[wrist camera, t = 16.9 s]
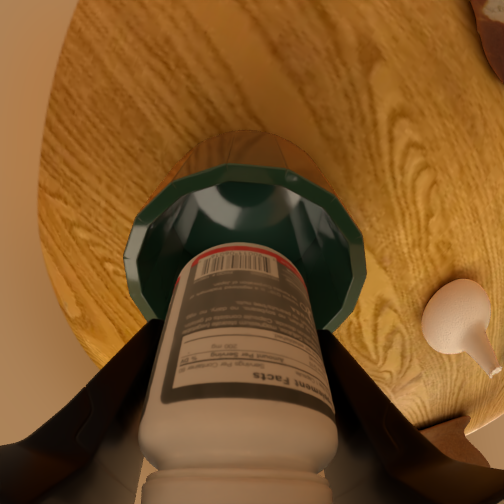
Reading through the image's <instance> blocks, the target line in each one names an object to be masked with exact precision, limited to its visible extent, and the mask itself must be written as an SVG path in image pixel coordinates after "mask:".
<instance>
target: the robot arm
mask: <svg viewBox="0 0 504 504" xmlns="http://www.w3.org/2000/svg"><path fill="white" fill-rule="evenodd" d="M164 323H165V321H164V320H163V319H155V318H152V319H150V320H149V321H148V322H147V323H146V324H145V325H144V326H143V327H142V328H141V329H140V330H139V331H138V332H137V333H136V334H135V335H134V336H133V337H132V338H131V339H130V341H129V342H128V343H127V344H126V345H125V346H124V347H123V348H122V349H121V350H120V351H119V352H118V353H117V354H116V355H115V356H114V357H113V358H112V359H111V360H110V361H109V362H108V363H107V364H106V365H105V366H104V367H103V368H102V369H101V370H100V371H99V372H98V373H97V374H96V375H95V376H94V378H92V380H90V381H89V383H88V384H87V385H86V387H84V388H83V389H82V390H81V391H80V392H79V393H78V394H77V395H76V396H75V397H74V398H73V399H72V400H71V401H70V402H69V403H68V404H67V405H66V406H64V407H63V408H62V409H61V410H60V411H59V412H58V413H56V414H55V415H54V416H53V417H52V418H50V419H49V420H48V421H47V422H46V423H44V424H43V425H42V426H41V427H40V428H38V429H37V430H36V431H35V432H33V433H32V434H31V435H30V436H28V437H27V438H25V439H24V440H21V441H19V442H16V443H13V444H7V445H2V446H0V504H134V502H135V497H136V492H137V487H138V481H139V477H140V472H141V468H142V463H143V458H144V455H143V453H142V451H141V449H140V446H139V441H138V432H139V424H140V417H141V414H142V410H143V405H144V401H145V397H146V393H147V389H148V384H149V380H150V376H151V372H152V368H153V364H154V361H155V357H156V353H157V349H158V345H159V341H160V338H161V334H162V330H163V327H164ZM316 332H317V336H318V340H319V345H320V349H321V354H322V358H323V363H324V367H325V371H326V374H327V378H328V383H329V387H330V392H331V396H332V402H333V405H334V409H335V420H336V426H337V433H338V448H337V452H336V454H335V456H334V458H333V460H332V461H331V462H330V464H329V465H328V466H327V467H326V468H325V469H324V473H325V478H326V479H327V480H328V481H329V488H330V489H331V490H332V492H333V499H332V500H333V504H504V470H501V469H494V468H489V467H484V466H479V465H475V464H470V463H466V462H461V461H457V460H454V459H452V458H450V457H448V456H447V455H445V454H444V453H442V452H441V451H440V450H439V449H438V448H437V447H436V446H435V445H433V444H432V443H431V442H430V441H429V440H428V439H427V438H426V437H425V436H424V435H423V434H422V433H420V432H419V431H418V430H417V429H416V428H415V427H414V426H413V425H412V424H411V423H410V422H409V421H408V420H407V419H406V418H405V417H404V415H403V414H402V413H401V412H400V411H399V410H398V409H397V408H396V406H395V405H394V404H393V403H390V402H391V401H390V400H389V398H388V397H387V396H386V395H385V394H384V393H383V392H382V390H381V389H380V388H379V387H378V386H377V385H376V383H375V382H374V381H373V380H372V379H371V378H370V376H369V375H368V374H367V373H366V372H365V371H364V370H363V368H362V367H361V366H360V365H359V364H358V363H357V361H356V360H355V359H354V358H353V357H352V356H351V355H350V353H349V352H348V351H347V350H346V349H345V348H344V346H343V345H342V344H341V343H340V342H339V341H338V340H337V338H336V337H335V336H334V335H333V334H332V333H331V332H330V331H329V330H327V329H317V330H316Z"/></svg>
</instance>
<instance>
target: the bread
mask: <svg viewBox="0 0 504 504" xmlns="http://www.w3.org/2000/svg"><path fill="white" fill-rule="evenodd" d="M470 2H471V5H472V7H473V10H474V13H475V17H476V23H477V32H478V33H479V34H480V38H481V40H482V46H483V49H484V51H485V55H486V58H487V60H488V62H489V64H490V66H491V67H492V69H493V70H494V72H495V74H496V75H497V76H498V78H499V79H500V80H501V81H502V82H503V83H504V0H470Z"/></svg>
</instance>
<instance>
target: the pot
mask: <svg viewBox="0 0 504 504" xmlns="http://www.w3.org/2000/svg"><path fill="white" fill-rule="evenodd" d="M235 242H245V243H254V244H259V245H262V246H266V247H269V248H271V249H273V250H275V251H277V252H279V253H280V254H282V255H283V256H285V257H286V258H287V259H288V260H290V261H291V262H292V264H293V265H294V266H295V267H296V268H297V270H298V271H299V273H300V274H301V276H302V278H303V280H304V283H305V286H306V288H307V292H308V296H309V301H310V305H311V310H312V314H313V318H314V322H315V327H316V330H317V329H327V330H329V331H330V332H331V333H333V332H334V331H335V330H336V329H337V328H338V327H339V326H340V325H341V324H342V323H343V322H344V321H345V320H346V318H347V317H348V316H349V315H350V314H351V313H352V312H353V310H354V308H355V306H356V303H357V300H358V298H359V295H360V293H361V290H362V287H363V285H364V282H365V279H366V275H367V270H366V259H365V250H364V241H363V235H362V232H361V231H360V229H359V228H358V226H357V224H356V223H355V221H354V220H353V218H352V217H351V215H350V213H349V212H348V210H347V209H346V207H345V206H344V204H343V203H342V201H341V200H340V198H339V197H338V195H337V194H336V192H335V191H334V189H333V188H332V186H331V185H330V183H329V182H328V181H327V179H326V178H325V176H324V175H323V174H322V172H321V171H320V170H319V168H318V167H317V165H316V164H315V163H314V161H313V160H312V159H311V158H310V156H309V155H308V154H307V153H306V152H305V151H304V150H302V149H300V148H299V147H298V146H296V145H295V144H293V143H292V142H290V141H288V140H286V139H284V138H282V137H280V136H277V135H274V134H270V133H267V132H261V131H255V130H239V131H231V132H226V133H222V134H219V135H216V136H214V137H211V138H209V139H207V140H205V141H202V142H201V143H199V144H197V145H196V146H195V147H194V148H193V149H192V150H190V151H189V152H188V153H187V154H186V155H185V156H184V157H183V158H182V159H181V160H180V161H179V162H178V163H177V164H175V166H174V167H173V168H172V169H171V171H170V172H169V173H168V174H167V176H166V177H165V178H164V179H163V181H162V182H161V183H160V184H159V186H158V187H157V188H156V190H155V191H154V192H153V194H152V195H151V196H150V198H149V199H148V200H147V202H146V203H145V204H144V206H143V207H142V208H141V210H140V211H139V212H138V214H137V216H136V217H135V220H134V222H133V225H132V229H131V232H130V235H129V238H128V241H127V244H126V247H125V251H124V254H123V256H124V257H123V260H124V266H125V272H126V278H127V284H128V289H129V294H130V296H131V298H132V300H133V301H134V303H135V304H136V306H137V307H138V309H139V310H140V311H141V313H142V314H143V316H144V317H145V319H146V320H147V322H148V321H149V320H150V319H152V318H155V319H163V320H164V321H165V319H166V316H167V312H168V308H169V305H170V302H171V298H172V294H173V291H174V288H175V284H176V282H177V279H178V277H179V275H180V273H181V271H182V270H183V268H184V267H185V266H186V264H187V263H188V262H189V261H190V260H192V259H193V258H194V257H195V256H197V255H198V254H200V253H201V252H203V251H205V250H207V249H209V248H212V247H214V246H217V245H221V244H226V243H235Z"/></svg>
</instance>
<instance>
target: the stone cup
mask: <svg viewBox="0 0 504 504" xmlns="http://www.w3.org/2000/svg"><path fill="white" fill-rule="evenodd" d="M470 419H471V418H470V416H462V417H459V418H456V419H453V420H450V421H447V422H444V423H441V424H438V425H435V426H433V427H430V428H427V429H424V430H421V431H419V432H420V433H422V434H423V435H424V436H425V437H426V438H427V439H428V440H429V441H430V442H431V443H432V444H433V445H435V446H436V447H437V448H438V449H439V450H440V451H441V452H442V453H444V454H445V455H447V456H448V457H450V458H452V459H454V460H457V461H461V462H466V463H470V464H475V465H479V466H484V467H489V468H490V465H489V463H488V461H487V460H486V459H485V458H484V456H483V455H482V454H481V453H480V451H478V450H477V449H476V448H475V447H474V446H473V445H472V444H471V443H470V442H469V441H468V440H467V439H466V437H465V434H464V429H465V428H466V426H467V425H468V423H469V422H470Z"/></svg>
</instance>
